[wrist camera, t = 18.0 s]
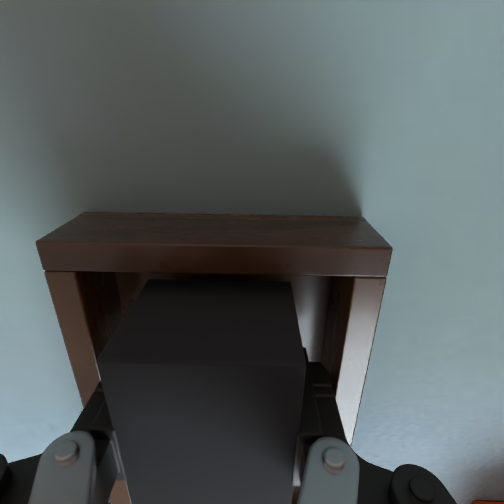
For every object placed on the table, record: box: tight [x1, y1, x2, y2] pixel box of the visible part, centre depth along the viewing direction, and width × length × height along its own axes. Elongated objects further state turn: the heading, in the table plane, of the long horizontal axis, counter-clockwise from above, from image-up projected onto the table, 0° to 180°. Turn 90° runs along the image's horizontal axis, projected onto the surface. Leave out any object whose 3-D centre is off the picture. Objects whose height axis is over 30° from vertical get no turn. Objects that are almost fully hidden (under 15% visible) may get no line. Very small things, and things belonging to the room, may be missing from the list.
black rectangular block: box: [96, 279, 306, 504], centre depth 11 cm, size 7×5×4 cm
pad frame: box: [36, 212, 392, 504], centre depth 15 cm, size 20×10×3 cm, turn 179°
